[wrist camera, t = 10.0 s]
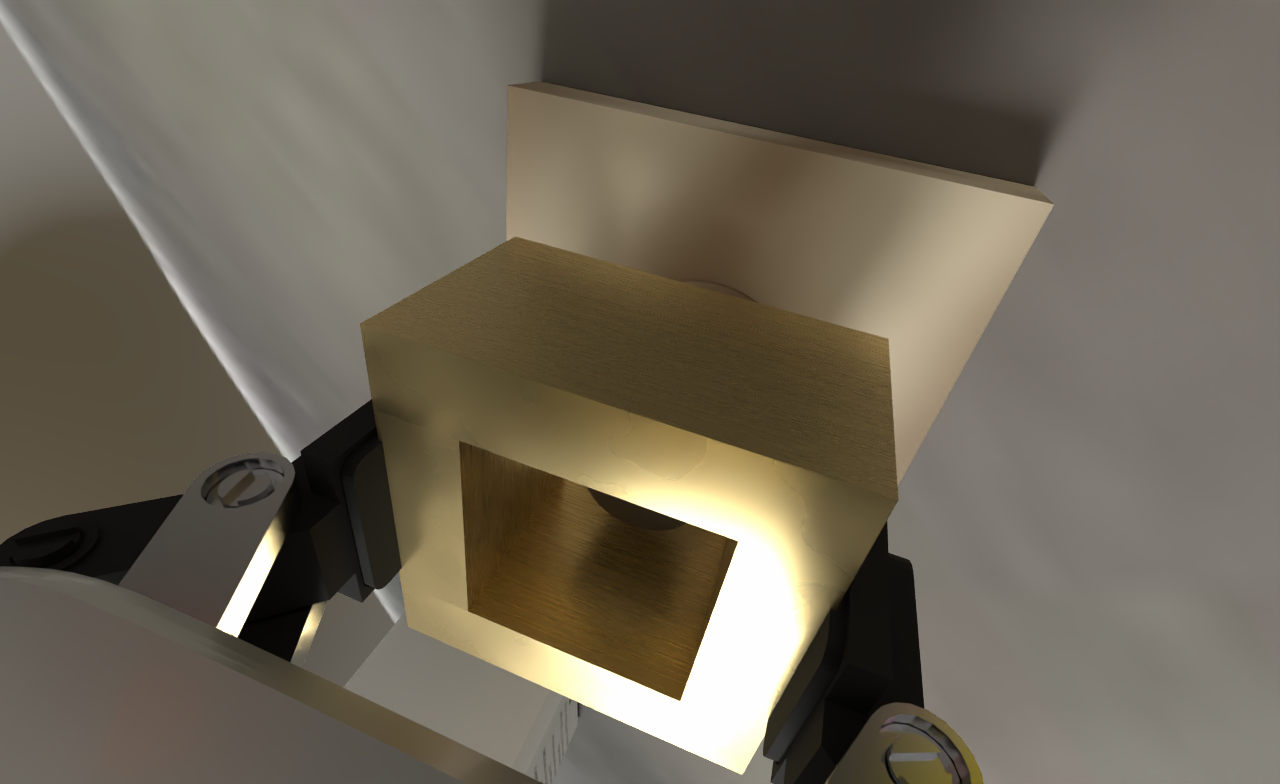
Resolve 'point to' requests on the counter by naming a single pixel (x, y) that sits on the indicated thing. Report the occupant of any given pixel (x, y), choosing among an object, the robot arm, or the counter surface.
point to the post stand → (775, 231)
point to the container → (469, 701)
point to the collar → (629, 482)
